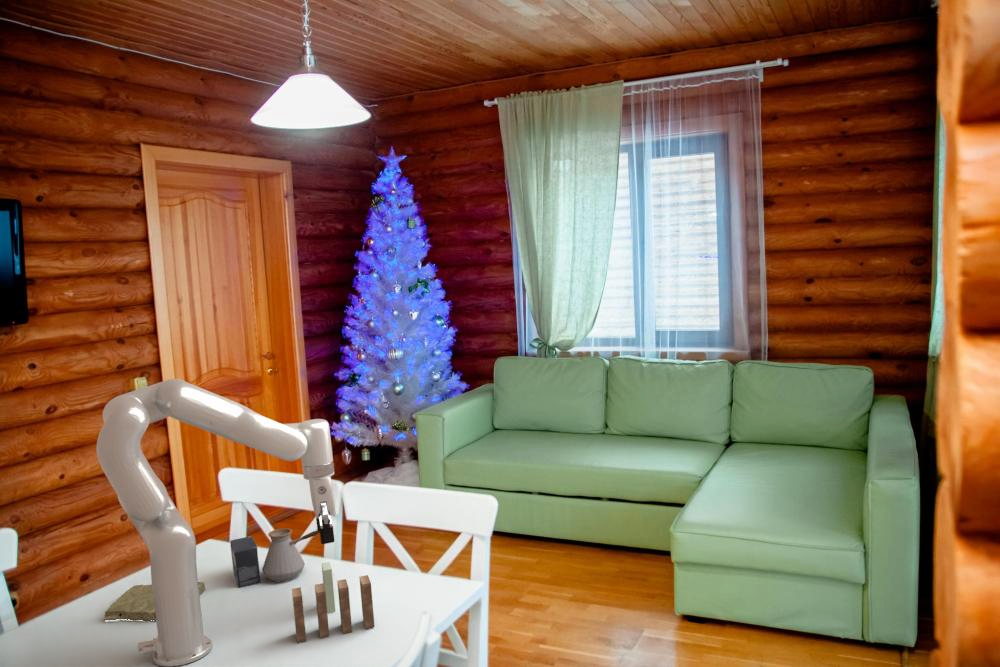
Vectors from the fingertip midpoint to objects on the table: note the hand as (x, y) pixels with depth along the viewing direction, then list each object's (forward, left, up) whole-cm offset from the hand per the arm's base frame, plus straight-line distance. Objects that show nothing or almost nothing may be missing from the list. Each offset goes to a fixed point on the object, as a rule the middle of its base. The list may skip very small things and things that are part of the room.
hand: (325, 536), depth 199 cm
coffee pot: (-7, +24, -19) cm, 31 cm away
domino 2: (-3, -13, -19) cm, 23 cm away
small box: (-21, +30, -19) cm, 41 cm away
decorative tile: (-44, +22, -19) cm, 52 cm away
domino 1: (-9, -13, -19) cm, 24 cm away
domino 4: (+2, -13, -19) cm, 23 cm away
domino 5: (+7, -13, -19) cm, 24 cm away
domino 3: (-1, 0, -19) cm, 19 cm away
